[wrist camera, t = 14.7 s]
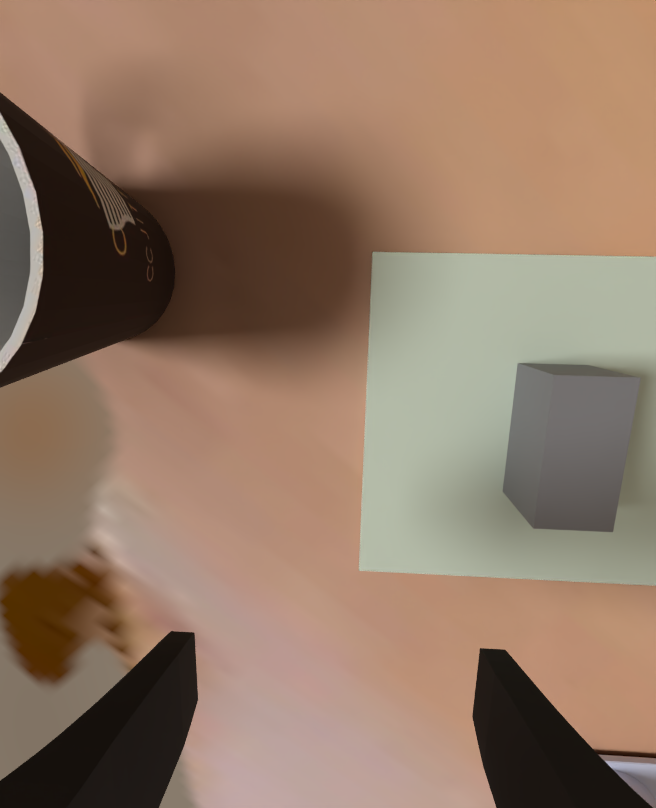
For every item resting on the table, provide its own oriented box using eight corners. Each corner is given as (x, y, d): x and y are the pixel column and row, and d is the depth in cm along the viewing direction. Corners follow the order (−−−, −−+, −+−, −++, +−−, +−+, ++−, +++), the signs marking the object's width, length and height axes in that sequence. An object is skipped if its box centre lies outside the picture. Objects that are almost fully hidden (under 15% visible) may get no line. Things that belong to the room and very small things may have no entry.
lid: (678, 575, 22) (761, 642, 17) (358, 559, 22) (360, 620, 18) (748, 261, 18) (872, 246, 14) (371, 254, 19) (377, 238, 15)
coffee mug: (213, 356, 20) (81, 401, 10) (34, 371, 20) (-254, 429, 11) (170, 67, 17) (-57, -239, 8) (-31, 94, 18) (-479, -157, 8)
